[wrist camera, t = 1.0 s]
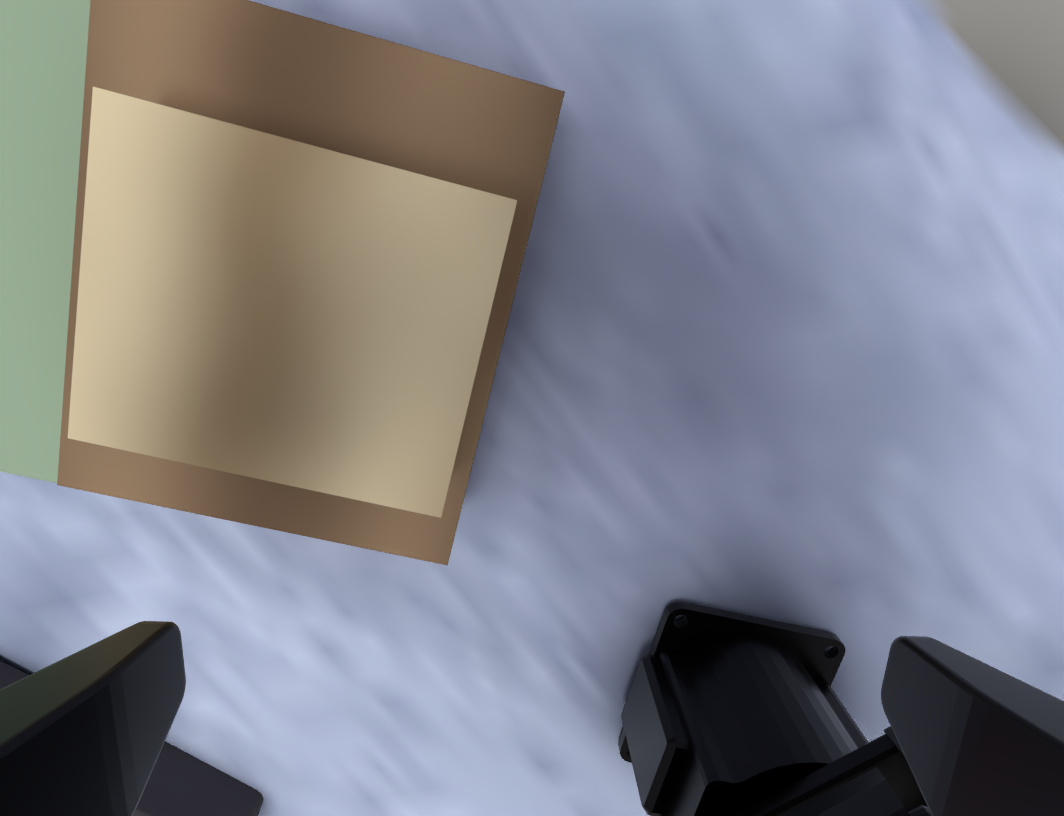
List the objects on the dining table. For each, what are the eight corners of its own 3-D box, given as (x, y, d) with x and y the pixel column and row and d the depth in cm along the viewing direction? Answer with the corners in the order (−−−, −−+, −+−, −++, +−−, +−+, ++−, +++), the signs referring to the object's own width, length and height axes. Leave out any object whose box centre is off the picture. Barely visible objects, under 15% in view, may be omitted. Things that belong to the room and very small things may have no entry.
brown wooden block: (552, 114, 19) (564, 92, 15) (456, 502, 22) (447, 565, 18) (181, 9, 18) (93, -44, 14) (138, 433, 21) (56, 484, 17)
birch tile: (514, 200, 16) (517, 200, 13) (449, 476, 18) (441, 518, 15) (156, 104, 15) (92, 86, 12) (127, 405, 17) (67, 438, 14)
